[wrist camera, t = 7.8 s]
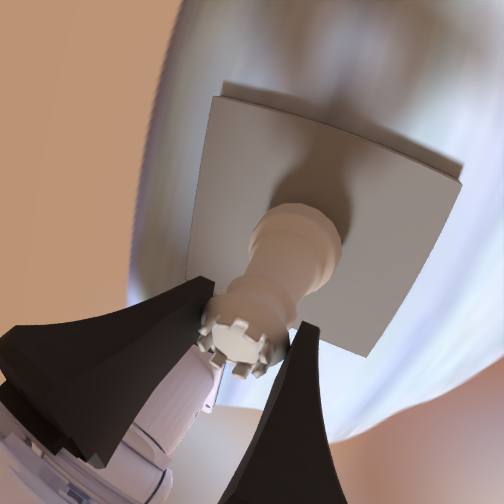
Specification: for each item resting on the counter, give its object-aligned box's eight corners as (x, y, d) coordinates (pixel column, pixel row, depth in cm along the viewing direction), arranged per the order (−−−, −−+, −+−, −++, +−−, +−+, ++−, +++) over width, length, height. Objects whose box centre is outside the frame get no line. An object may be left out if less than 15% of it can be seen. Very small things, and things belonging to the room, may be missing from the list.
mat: (367, 347, 20) (366, 357, 19) (192, 271, 22) (184, 279, 22) (458, 179, 13) (462, 184, 12) (221, 95, 16) (212, 96, 15)
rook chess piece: (305, 181, 15) (228, 269, 8) (361, 254, 15) (329, 381, 9) (242, 229, 17) (150, 323, 11) (294, 291, 18) (233, 405, 11)
